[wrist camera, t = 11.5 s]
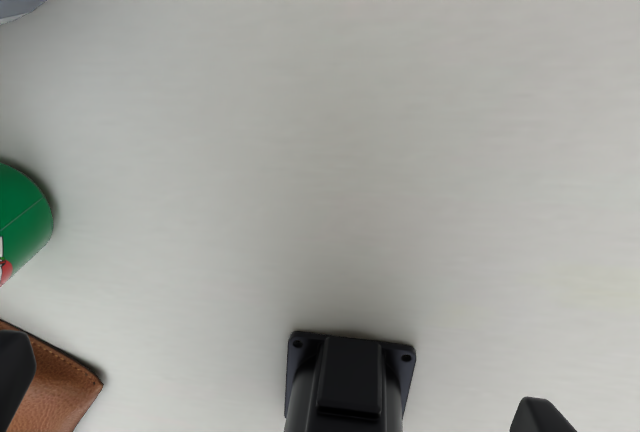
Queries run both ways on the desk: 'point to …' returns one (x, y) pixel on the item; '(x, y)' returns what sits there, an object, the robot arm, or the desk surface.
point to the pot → (17, 9)
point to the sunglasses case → (54, 391)
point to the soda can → (21, 221)
